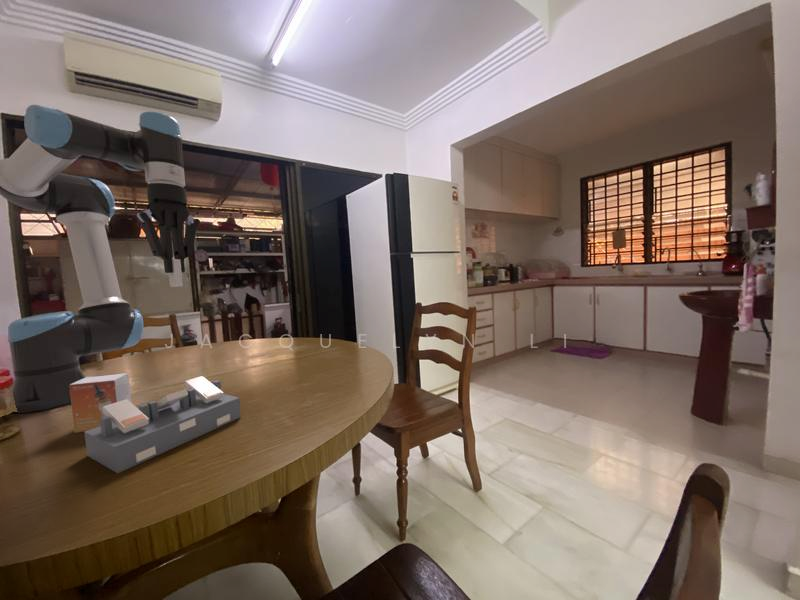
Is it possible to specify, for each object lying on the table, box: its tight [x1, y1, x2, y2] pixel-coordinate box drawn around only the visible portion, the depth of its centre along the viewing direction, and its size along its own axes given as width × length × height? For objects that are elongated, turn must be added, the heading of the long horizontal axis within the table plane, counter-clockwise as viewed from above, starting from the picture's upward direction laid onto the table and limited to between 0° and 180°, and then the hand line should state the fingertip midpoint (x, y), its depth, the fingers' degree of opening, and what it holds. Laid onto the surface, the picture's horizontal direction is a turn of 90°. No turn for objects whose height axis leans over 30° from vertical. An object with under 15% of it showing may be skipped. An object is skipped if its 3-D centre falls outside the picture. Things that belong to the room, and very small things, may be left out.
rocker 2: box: [156, 388, 188, 410], centre depth 64 cm, size 8×4×1 cm, turn 61°
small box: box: [70, 372, 132, 434], centre depth 70 cm, size 8×6×10 cm
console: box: [83, 380, 242, 474], centre depth 64 cm, size 12×22×8 cm, turn 152°
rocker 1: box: [103, 399, 149, 433], centre depth 58 cm, size 8×4×1 cm, turn 62°
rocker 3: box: [184, 375, 224, 403], centre depth 70 cm, size 8×4×1 cm, turn 62°
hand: (176, 286), depth 77 cm, fingers closed
